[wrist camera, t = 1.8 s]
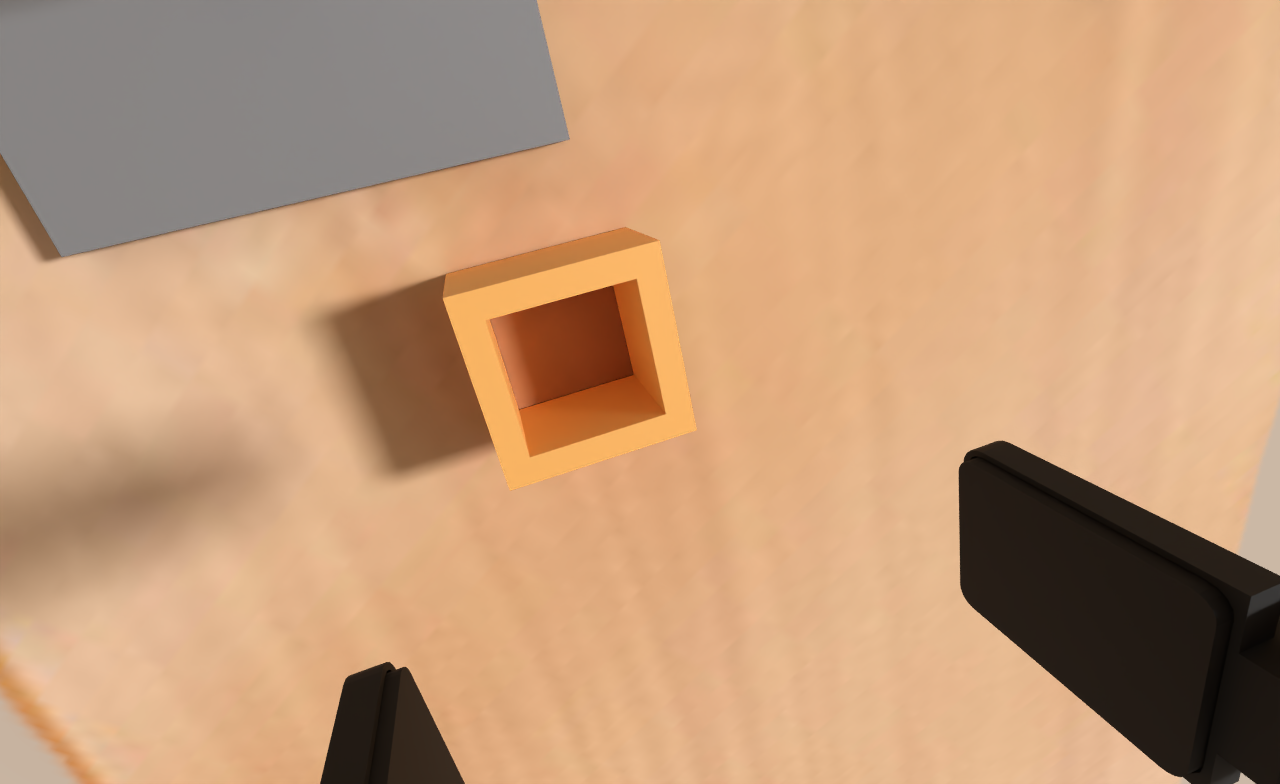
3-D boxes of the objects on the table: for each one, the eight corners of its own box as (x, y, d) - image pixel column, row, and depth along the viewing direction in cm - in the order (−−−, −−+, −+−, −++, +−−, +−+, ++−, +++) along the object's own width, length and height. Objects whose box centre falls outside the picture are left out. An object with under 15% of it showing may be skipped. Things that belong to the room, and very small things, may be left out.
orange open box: (445, 274, 23) (442, 298, 18) (625, 227, 24) (659, 240, 20) (502, 438, 25) (509, 490, 21) (660, 389, 26) (696, 429, 22)
